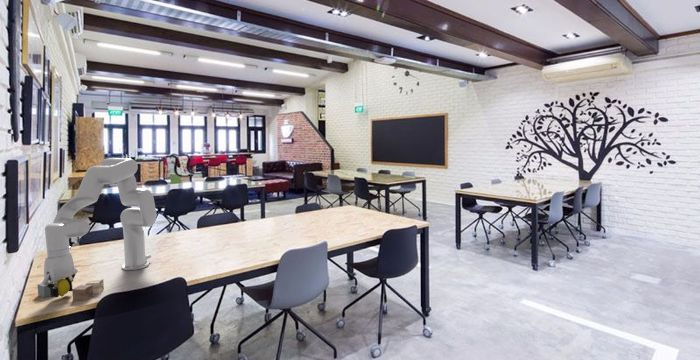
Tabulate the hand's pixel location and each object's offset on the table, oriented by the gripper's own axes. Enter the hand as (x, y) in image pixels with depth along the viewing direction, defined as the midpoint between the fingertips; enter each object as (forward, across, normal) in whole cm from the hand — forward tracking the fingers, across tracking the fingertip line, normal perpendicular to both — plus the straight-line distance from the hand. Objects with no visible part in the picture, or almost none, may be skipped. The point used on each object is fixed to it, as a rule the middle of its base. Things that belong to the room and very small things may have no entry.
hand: (61, 293), depth 159 cm
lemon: (+1, 0, 0) cm, 1 cm away
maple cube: (+2, -8, +8) cm, 12 cm away
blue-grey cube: (+2, -2, -9) cm, 9 cm away
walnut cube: (+2, -2, +9) cm, 9 cm away
